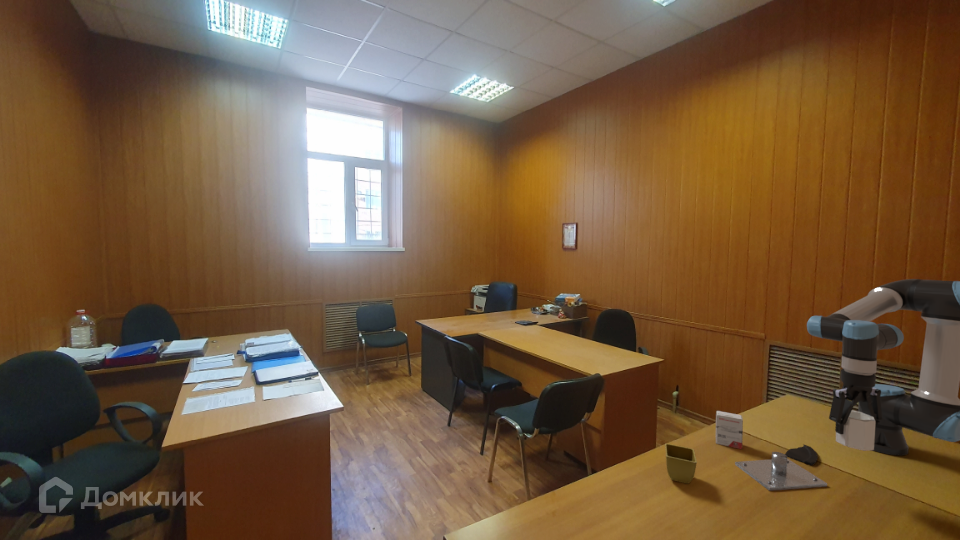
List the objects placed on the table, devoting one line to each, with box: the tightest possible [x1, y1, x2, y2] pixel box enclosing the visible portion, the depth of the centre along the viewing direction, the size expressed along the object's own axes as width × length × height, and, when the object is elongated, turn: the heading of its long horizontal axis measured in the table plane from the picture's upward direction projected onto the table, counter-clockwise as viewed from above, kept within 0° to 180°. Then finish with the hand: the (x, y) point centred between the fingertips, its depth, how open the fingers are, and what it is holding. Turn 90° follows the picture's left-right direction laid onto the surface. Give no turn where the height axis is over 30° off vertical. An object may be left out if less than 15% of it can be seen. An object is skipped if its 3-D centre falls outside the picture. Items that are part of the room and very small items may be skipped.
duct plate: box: [734, 451, 828, 492], centre depth 124 cm, size 20×14×7 cm
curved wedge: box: [784, 443, 819, 467], centre depth 136 cm, size 8×14×2 cm, turn 121°
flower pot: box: [664, 443, 698, 484], centre depth 123 cm, size 9×9×9 cm
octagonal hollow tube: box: [841, 409, 876, 452], centre depth 114 cm, size 8×8×9 cm
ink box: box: [715, 410, 744, 450], centre depth 144 cm, size 9×5×12 cm, turn 58°
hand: (854, 442), depth 115 cm, fingers closed on octagonal hollow tube, 8 cm apart
